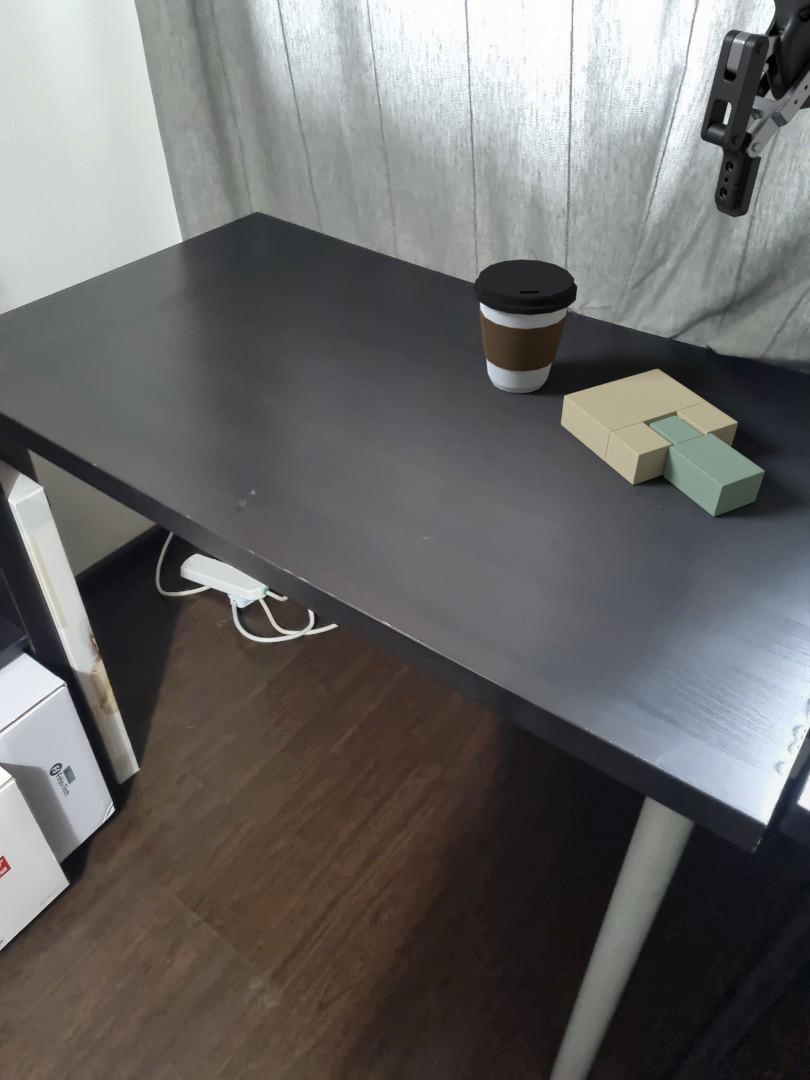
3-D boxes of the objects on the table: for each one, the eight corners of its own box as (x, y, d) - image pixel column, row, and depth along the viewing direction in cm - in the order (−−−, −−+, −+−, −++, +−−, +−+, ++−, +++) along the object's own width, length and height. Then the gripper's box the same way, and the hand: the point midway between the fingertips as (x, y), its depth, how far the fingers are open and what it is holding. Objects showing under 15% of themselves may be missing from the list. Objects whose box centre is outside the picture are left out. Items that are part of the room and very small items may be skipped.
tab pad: (755, 501, 76) (765, 470, 74) (713, 517, 75) (722, 486, 72) (675, 442, 84) (682, 412, 81) (636, 455, 82) (642, 425, 80)
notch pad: (729, 452, 82) (738, 422, 80) (632, 485, 78) (639, 455, 76) (651, 396, 90) (657, 368, 88) (560, 424, 87) (564, 395, 84)
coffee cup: (572, 404, 89) (587, 299, 82) (472, 405, 90) (476, 300, 82) (559, 356, 98) (571, 256, 90) (467, 356, 98) (470, 257, 90)
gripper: (820, -92, 40) (738, 240, 51) (1012, -105, 45) (900, 202, 55) (712, -99, 45) (658, 204, 56) (895, -110, 50) (813, 171, 61)
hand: (779, 202), depth 56 cm, fingers open, 8 cm apart
